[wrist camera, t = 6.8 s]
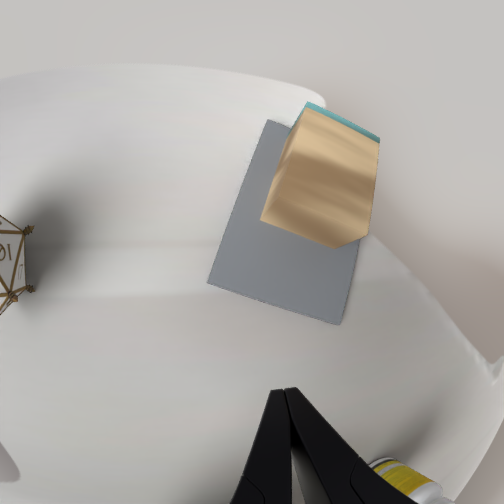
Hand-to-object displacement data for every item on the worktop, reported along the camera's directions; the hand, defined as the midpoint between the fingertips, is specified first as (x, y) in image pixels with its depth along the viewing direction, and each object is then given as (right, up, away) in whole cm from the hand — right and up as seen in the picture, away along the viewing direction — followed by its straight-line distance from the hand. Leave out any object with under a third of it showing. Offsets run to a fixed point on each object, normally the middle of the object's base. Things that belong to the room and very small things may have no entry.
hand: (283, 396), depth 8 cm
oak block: (+3, +6, +10) cm, 12 cm away
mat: (+3, +7, +13) cm, 15 cm away
